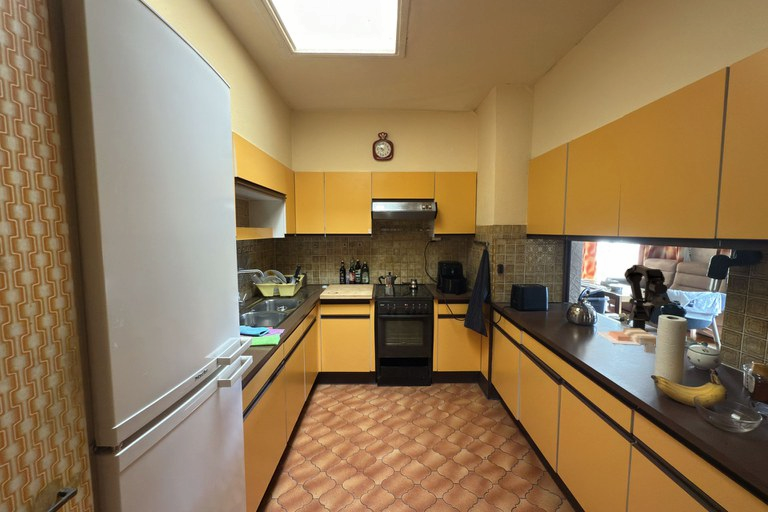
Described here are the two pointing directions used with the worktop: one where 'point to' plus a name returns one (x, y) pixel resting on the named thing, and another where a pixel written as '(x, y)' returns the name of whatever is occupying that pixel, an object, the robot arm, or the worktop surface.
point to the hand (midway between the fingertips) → (649, 316)
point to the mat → (614, 341)
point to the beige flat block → (647, 346)
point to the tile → (619, 336)
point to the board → (635, 332)
